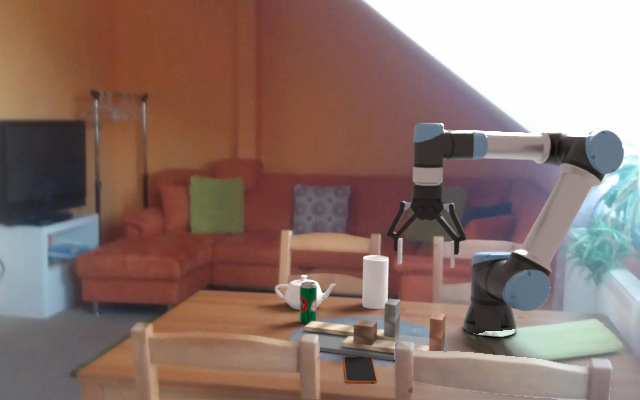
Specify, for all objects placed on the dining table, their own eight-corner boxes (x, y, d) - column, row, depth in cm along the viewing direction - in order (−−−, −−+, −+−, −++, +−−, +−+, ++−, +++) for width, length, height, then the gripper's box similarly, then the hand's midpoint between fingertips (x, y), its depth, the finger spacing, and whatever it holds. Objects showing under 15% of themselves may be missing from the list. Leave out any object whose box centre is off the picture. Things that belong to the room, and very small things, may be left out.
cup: (367, 309, 219) (368, 261, 217) (358, 303, 227) (359, 255, 225) (391, 308, 222) (392, 259, 220) (382, 301, 229) (383, 254, 227)
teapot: (337, 302, 228) (337, 272, 227) (334, 312, 216) (334, 281, 215) (278, 299, 230) (278, 270, 229) (271, 310, 218) (271, 279, 217)
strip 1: (399, 335, 190) (400, 299, 189) (394, 341, 185) (395, 304, 183) (311, 324, 199) (312, 290, 197) (304, 330, 193) (305, 295, 192)
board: (441, 343, 188) (441, 339, 188) (429, 365, 171) (429, 361, 171) (308, 326, 201) (308, 323, 201) (285, 346, 184) (285, 342, 184)
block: (376, 339, 182) (377, 321, 182) (371, 345, 178) (372, 326, 177) (358, 337, 184) (359, 319, 183) (353, 343, 179) (353, 324, 179)
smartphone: (372, 359, 176) (372, 356, 176) (377, 385, 159) (377, 381, 159) (342, 359, 176) (342, 355, 176) (345, 384, 159) (345, 380, 159)
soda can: (314, 325, 203) (314, 285, 201) (297, 323, 204) (298, 284, 202) (317, 320, 208) (318, 281, 206) (301, 319, 209) (302, 280, 207)
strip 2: (444, 352, 177) (445, 314, 176) (440, 359, 172) (441, 320, 170) (348, 340, 186) (349, 303, 184) (342, 346, 180) (342, 308, 179)
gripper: (478, 183, 175) (476, 265, 177) (382, 180, 182) (381, 259, 184) (476, 186, 167) (473, 271, 170) (376, 183, 174) (375, 265, 177)
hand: (425, 265), depth 177 cm, fingers open, 13 cm apart
